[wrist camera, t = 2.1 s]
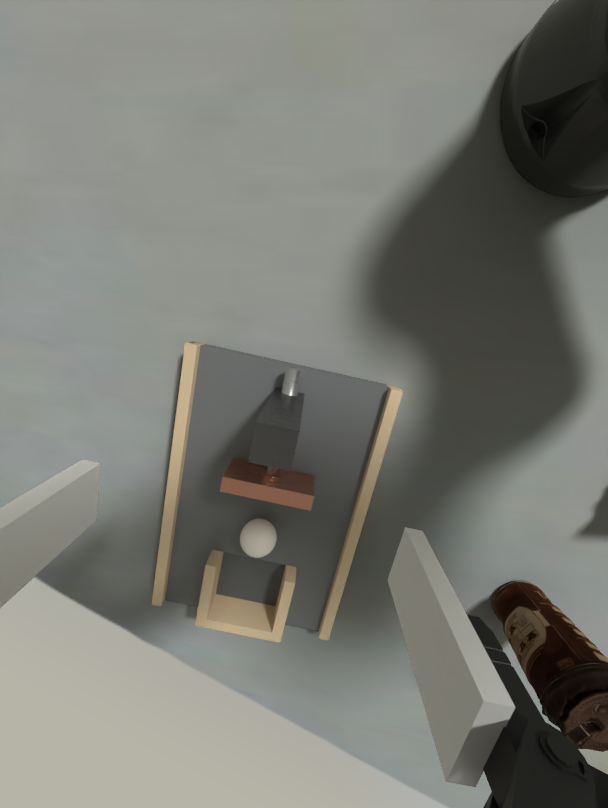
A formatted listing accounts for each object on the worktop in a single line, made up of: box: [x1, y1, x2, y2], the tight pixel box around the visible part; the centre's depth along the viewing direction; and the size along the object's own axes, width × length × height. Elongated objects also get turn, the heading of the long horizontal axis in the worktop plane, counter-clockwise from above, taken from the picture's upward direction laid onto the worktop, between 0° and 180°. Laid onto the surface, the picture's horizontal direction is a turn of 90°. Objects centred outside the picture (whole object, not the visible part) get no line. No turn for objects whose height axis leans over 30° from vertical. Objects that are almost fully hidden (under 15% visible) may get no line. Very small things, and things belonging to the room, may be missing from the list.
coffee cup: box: [492, 581, 608, 752], centre depth 35 cm, size 9×8×13 cm
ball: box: [240, 518, 277, 558], centre depth 36 cm, size 4×4×4 cm
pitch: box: [152, 342, 403, 643], centre depth 37 cm, size 32×22×4 cm
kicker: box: [220, 367, 314, 511], centre depth 29 cm, size 14×9×12 cm, turn 168°
